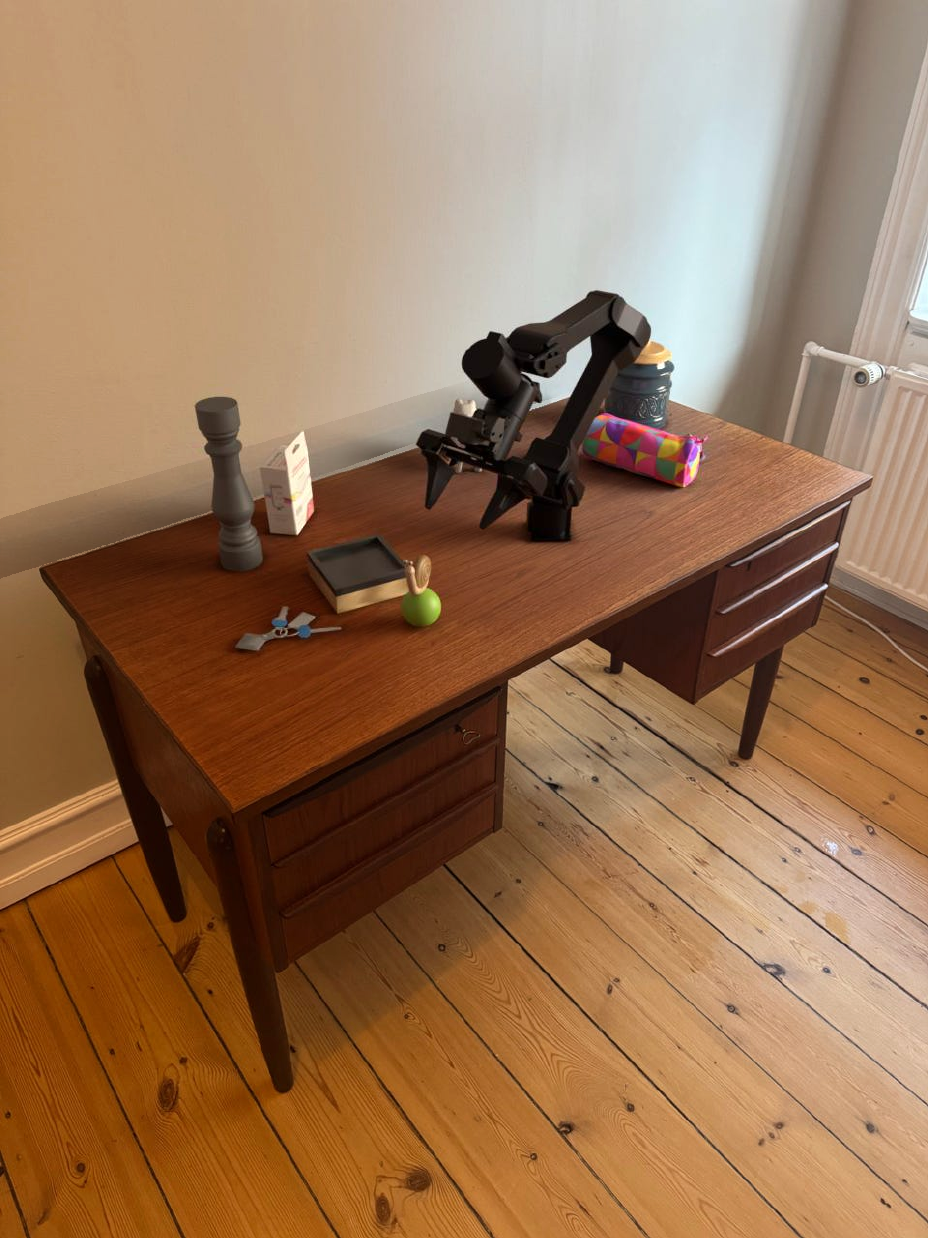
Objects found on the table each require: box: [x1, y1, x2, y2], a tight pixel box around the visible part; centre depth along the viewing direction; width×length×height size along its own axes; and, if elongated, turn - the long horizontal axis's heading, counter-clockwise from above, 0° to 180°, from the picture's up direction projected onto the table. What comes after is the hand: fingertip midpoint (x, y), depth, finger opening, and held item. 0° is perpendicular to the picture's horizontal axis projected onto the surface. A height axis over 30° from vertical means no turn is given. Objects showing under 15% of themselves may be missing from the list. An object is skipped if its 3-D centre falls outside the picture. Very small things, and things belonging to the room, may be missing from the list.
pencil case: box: [581, 412, 709, 488], centre depth 157 cm, size 22×9×9 cm, turn 58°
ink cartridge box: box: [258, 430, 315, 536], centre depth 140 cm, size 9×5×15 cm, turn 168°
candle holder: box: [194, 396, 264, 572], centre depth 127 cm, size 6×6×25 cm
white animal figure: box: [451, 398, 483, 474], centre depth 161 cm, size 5×13×11 cm, turn 8°
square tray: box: [306, 533, 409, 614], centre depth 128 cm, size 12×12×4 cm
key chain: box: [235, 605, 342, 652], centre depth 119 cm, size 14×8×1 cm, turn 114°
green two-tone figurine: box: [400, 554, 442, 628], centre depth 117 cm, size 5×6×12 cm
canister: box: [602, 338, 675, 430], centre depth 174 cm, size 13×13×18 cm
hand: (453, 518), depth 118 cm, fingers open, 9 cm apart
